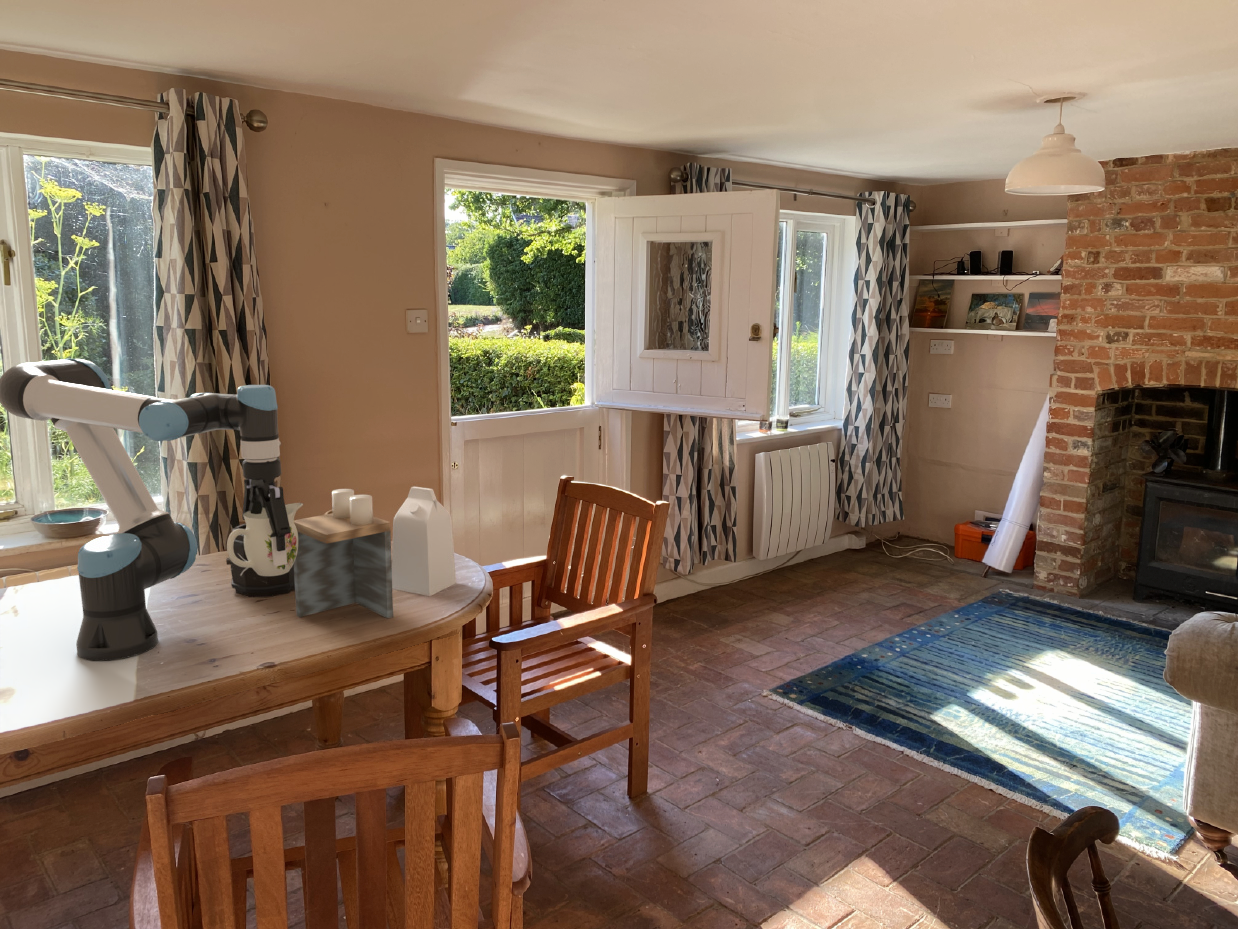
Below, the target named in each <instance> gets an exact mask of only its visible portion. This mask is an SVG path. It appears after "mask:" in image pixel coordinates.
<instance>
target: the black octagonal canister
mask: <svg viewBox="0 0 1238 929" xmlns="http://www.w3.org/2000/svg"><path fill="white" fill-rule="evenodd" d="M236 529H246V523H243V524H240V525H238V526H237V525H236V526H235V527H234V528H232V532H233V531H234V530H236ZM233 550H234V554H235V556H236V557H237V558H238V559H240V560H242V561H248V559H247V556H246V553H245V549H244V535H243V534H241V535H238V536H237V537H236V538H235V540H234V544H233ZM225 559H226V560H225V561H226V565H228V566H229V565H230V571H231V572H230V573H231V588H232V589H235V593H236V594H238V595H242V596H244V597H247V598H270V597H271V598H272V597H276V596H281V595H282V596H283V595H286V594H290V593H291V592H295V579H294V564H293V566H292V567H291V569H290V571H289V572H287V573H285V574H282V575H277V576H261V575H258V574H257V573H256V572H255V571H254V570H253V568H246V567H240V566H238V565H236V564H234V563H233V562H232V561H231V560H230V559H229V557H226V558H225Z"/></svg>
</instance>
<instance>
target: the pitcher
mask: <svg viewBox="0 0 1238 929" xmlns="http://www.w3.org/2000/svg"><path fill="white" fill-rule="evenodd" d="M303 505H304V504H303V503H302V502H294V503H288V504H285V507H286V512H287V516H288V521H289V526H290V531H291V532H290V533H289V534H286V535H285V539H286V554H287V564H285V565H280V566H275V567H274V566H273V556H272V541H271V537H270V535H271V534H272V533H273V532H272V529H271V526H270V523H269V518H268V516H267V513H266V510H265V508H262V512H261V514H251V511H248V512H246V513H244V519H245V520H244V521H245V523H244V524H246V529H236V530H234V531H233V530H232V531H231V532H230V533H229V536H228V538H227V542H226V552H227V556H228V558H229V559H230V560H231V561H232V562H233V563H234V564H236V565H238V566H240V567H246V568H253V570H254V571H255V572H256V573H257V574H258V575H261V576H277V575H282V574H285V573H287V572H289V571H290V569H291V567H292V566H293V564H294V562H295V559H296V556H297V551H298V532H297V529H296V526H295V524H294V520H295V516H296V512H297V511H298V510H299V509H300V508H302V507H303ZM241 534H243V535H244V549H245V553H246V556H247V559H248V561H242V560H240V559H238V558H237V557H236V556H235V554H234V550H233V544H234V540H235V538H236V537H237V536H238V535H241Z"/></svg>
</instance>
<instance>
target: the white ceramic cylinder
mask: <svg viewBox="0 0 1238 929" xmlns="http://www.w3.org/2000/svg"><path fill="white" fill-rule="evenodd" d="M354 495H355V490H354V489H353V488H352V489H351V488H338V489H333V490H332V491H331V499H332V500H331V503H332V504H331V505H332V507H331V508H332V509H331V510H333V518H337V519H346V518H350V501H349V497H351V496H354Z"/></svg>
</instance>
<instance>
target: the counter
mask: <svg viewBox="0 0 1238 929" xmlns="http://www.w3.org/2000/svg"><path fill="white" fill-rule="evenodd" d="M294 524H295V526H296V529H297V532H298V551H297V556H296V559H295V562H294V579H295V590H294V592H295V593H294V594H295V612H296V613H295V614H296V616H297V617H299V618H302V617H306V616H310V615H314V614H317V613H321V612H324V611H328V610H333V609H337V608H340V607H344V606H347V605H351V604H357V605H359V606H361V607H363V608H365V609H367V610H369V611H371V612H374V613H376V614H377V615H380V616H382V617H384V618H385V619H391V618H393V617H394V605H393V603H394V600H393V598H394V597H393V595H394V594H393V589H392V540H391V539H392V538H391V537H392V536H391V531H392V530H391V522H390V521H388V520H386V519H382V518H379V517H376V516H374V515H373V523H372V524H369V525H352V524H350V518H346V519H337V518H333V513H332V514H326V515H325V514H321V515H317V516H311V517H306V518H305V517H304V518H300V519H296V520H295V519H294Z"/></svg>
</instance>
